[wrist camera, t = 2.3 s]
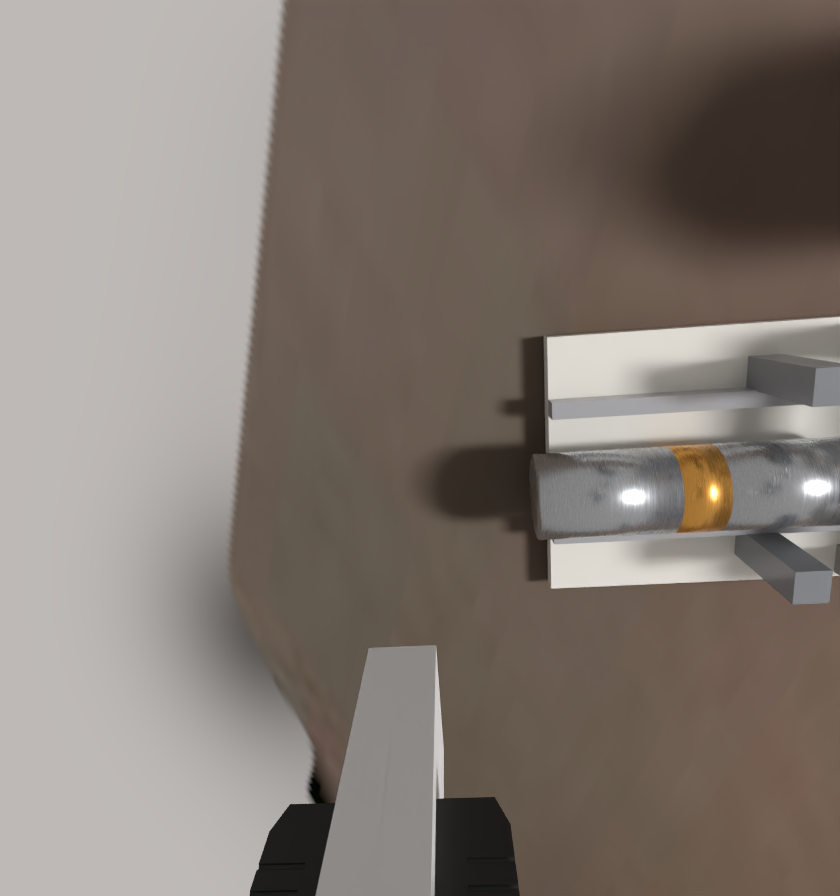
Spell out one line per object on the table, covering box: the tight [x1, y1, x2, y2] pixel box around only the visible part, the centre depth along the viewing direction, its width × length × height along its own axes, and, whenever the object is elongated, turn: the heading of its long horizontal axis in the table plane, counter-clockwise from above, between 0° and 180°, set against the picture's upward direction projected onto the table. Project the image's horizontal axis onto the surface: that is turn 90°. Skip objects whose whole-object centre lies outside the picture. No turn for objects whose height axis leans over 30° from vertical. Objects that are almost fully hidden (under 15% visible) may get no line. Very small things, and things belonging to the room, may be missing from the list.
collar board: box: [544, 316, 840, 604], centre depth 25 cm, size 13×24×7 cm, turn 94°
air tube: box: [529, 436, 840, 540], centre depth 26 cm, size 14×4×4 cm, turn 94°
